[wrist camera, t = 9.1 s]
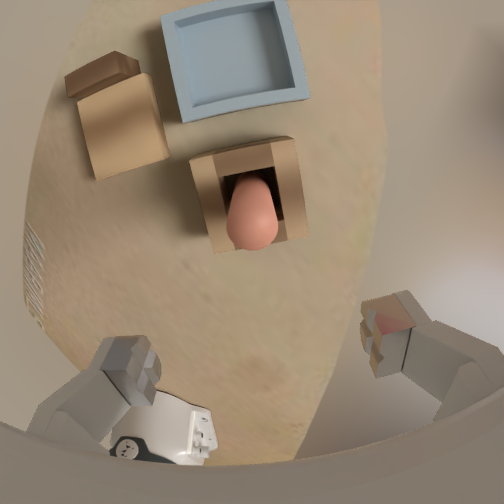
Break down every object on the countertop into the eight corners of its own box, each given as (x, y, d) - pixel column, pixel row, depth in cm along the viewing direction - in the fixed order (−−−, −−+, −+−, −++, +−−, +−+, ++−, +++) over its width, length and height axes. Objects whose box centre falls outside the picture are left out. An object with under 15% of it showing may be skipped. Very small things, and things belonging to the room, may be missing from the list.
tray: (303, 100, 22) (310, 97, 19) (190, 122, 23) (182, 123, 20) (280, 3, 18) (283, -10, 15) (169, 25, 19) (159, 16, 16)
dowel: (271, 199, 26) (282, 245, 17) (238, 205, 26) (232, 254, 17) (264, 168, 25) (273, 197, 16) (231, 174, 25) (220, 207, 16)
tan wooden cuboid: (171, 155, 25) (163, 159, 22) (108, 175, 25) (96, 181, 23) (153, 76, 21) (143, 72, 19) (90, 102, 22) (77, 102, 19)
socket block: (301, 219, 27) (309, 236, 23) (219, 235, 28) (214, 254, 24) (287, 136, 24) (294, 139, 20) (198, 154, 24) (189, 160, 21)
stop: (141, 78, 21) (118, 72, 16) (96, 98, 21) (67, 97, 17) (138, 60, 20) (114, 50, 15) (92, 80, 20) (64, 76, 16)
